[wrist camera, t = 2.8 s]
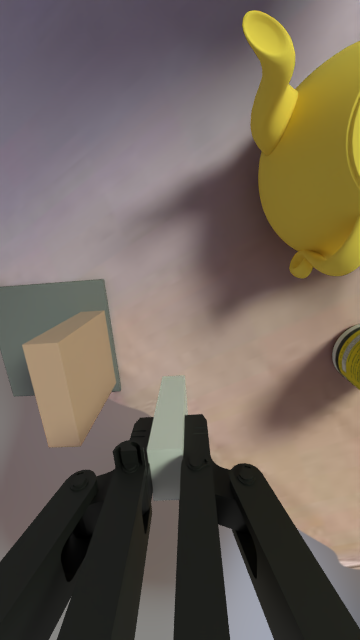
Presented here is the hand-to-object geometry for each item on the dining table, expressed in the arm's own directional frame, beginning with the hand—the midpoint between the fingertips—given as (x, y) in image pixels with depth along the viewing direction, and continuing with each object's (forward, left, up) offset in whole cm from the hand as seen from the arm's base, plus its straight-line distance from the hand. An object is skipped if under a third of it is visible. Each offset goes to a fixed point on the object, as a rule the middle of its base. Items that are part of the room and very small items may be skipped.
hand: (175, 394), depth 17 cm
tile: (0, -8, -9) cm, 12 cm away
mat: (-1, -13, -9) cm, 16 cm away
